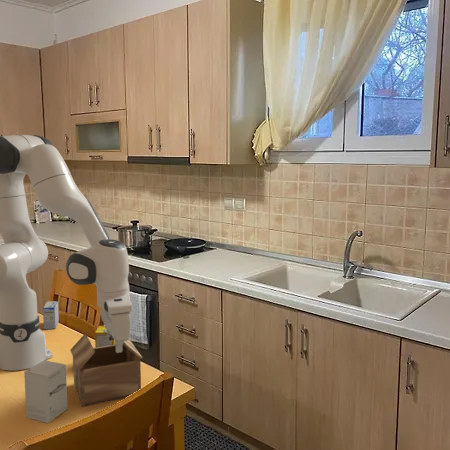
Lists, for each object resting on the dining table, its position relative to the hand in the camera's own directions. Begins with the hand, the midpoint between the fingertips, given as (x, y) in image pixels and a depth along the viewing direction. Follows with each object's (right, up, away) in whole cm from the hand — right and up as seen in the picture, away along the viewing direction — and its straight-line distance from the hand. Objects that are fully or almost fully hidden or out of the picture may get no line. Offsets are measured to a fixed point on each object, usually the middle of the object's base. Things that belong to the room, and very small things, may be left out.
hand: (114, 345), depth 136 cm
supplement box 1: (-15, -15, -12) cm, 24 cm away
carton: (-2, -13, +1) cm, 13 cm away
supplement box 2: (-7, -10, +19) cm, 23 cm away
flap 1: (-8, -1, -4) cm, 9 cm away
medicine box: (-36, -5, +50) cm, 62 cm away
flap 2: (+3, 0, +2) cm, 4 cm away
